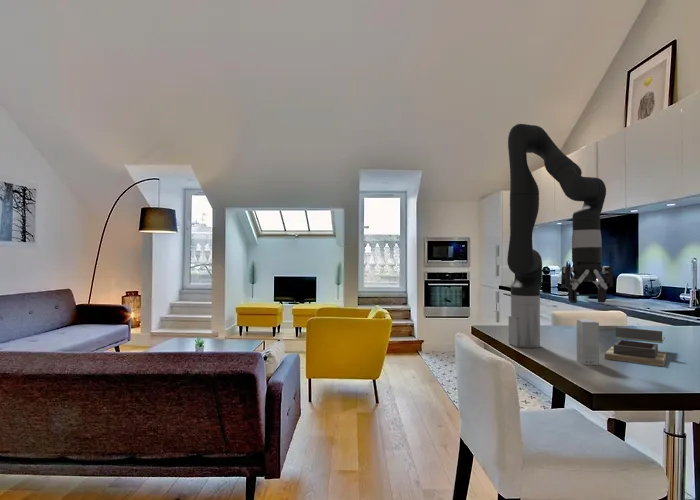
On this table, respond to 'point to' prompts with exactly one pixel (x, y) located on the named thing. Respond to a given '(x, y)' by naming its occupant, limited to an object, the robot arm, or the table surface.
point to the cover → (639, 335)
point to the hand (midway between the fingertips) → (587, 302)
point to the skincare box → (588, 342)
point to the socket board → (636, 353)
